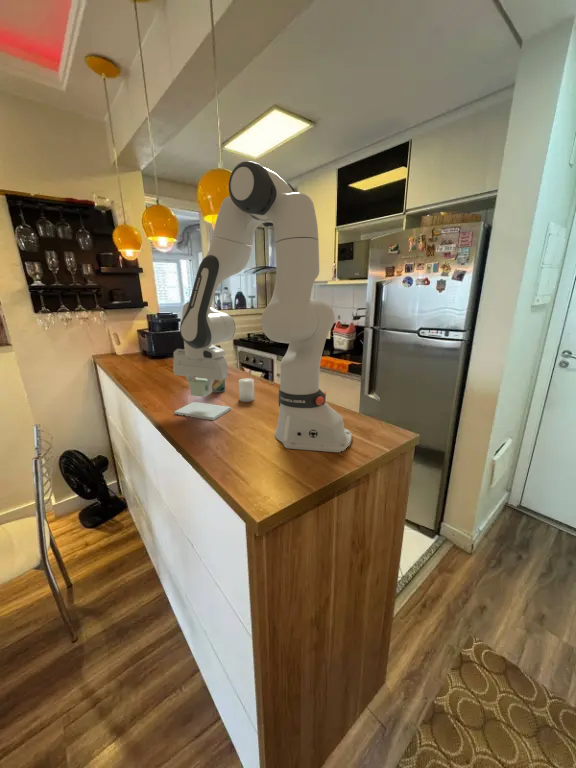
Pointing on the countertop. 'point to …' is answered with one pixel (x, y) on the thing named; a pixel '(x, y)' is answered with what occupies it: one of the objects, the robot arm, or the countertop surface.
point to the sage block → (199, 387)
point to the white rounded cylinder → (246, 390)
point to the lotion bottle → (218, 383)
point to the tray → (203, 410)
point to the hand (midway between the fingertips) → (201, 389)
